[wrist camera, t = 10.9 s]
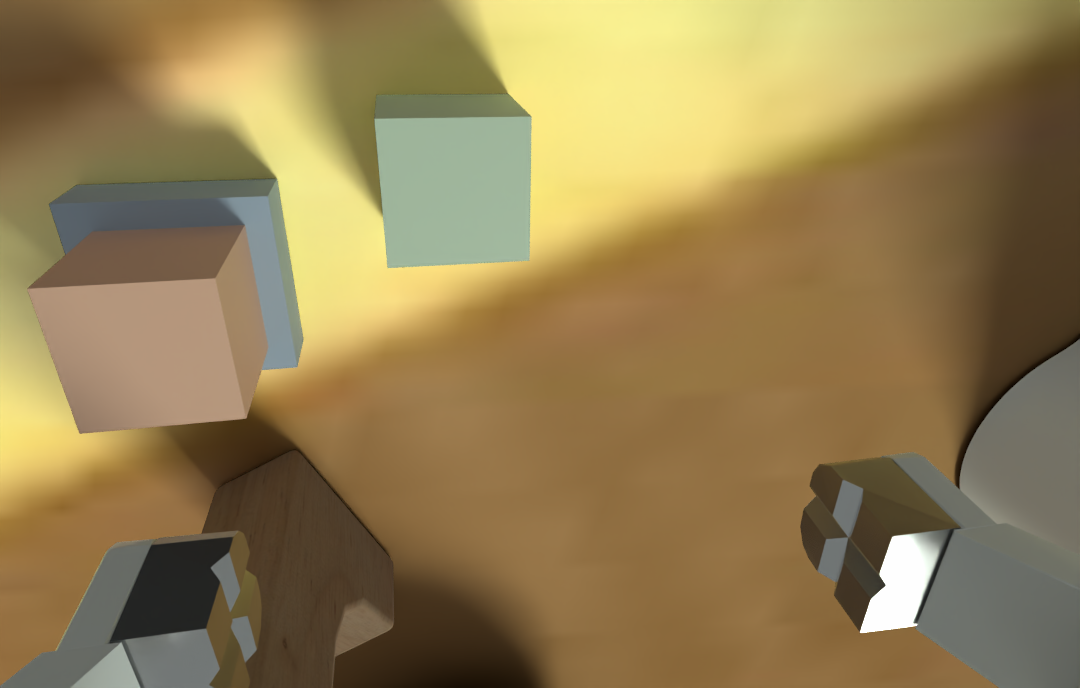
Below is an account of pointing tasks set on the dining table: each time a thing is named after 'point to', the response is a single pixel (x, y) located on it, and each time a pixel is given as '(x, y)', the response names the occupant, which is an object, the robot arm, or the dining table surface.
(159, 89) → the dining table surface
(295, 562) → the wooden block
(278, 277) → the slate blue block
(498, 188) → the sage green cube
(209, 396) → the pinkish brown cube
